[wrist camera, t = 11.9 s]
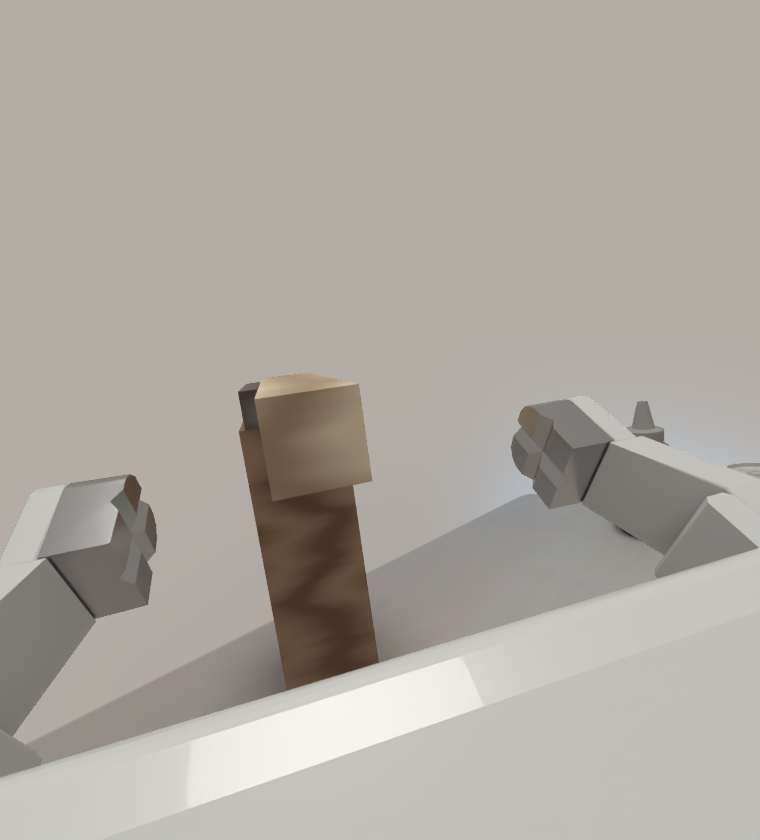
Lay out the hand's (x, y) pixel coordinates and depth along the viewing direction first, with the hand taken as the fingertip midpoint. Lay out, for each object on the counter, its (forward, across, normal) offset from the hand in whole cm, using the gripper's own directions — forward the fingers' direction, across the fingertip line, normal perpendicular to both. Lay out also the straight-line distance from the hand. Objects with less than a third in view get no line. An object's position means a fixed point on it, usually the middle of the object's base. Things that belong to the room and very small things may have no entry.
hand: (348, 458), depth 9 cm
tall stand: (+10, 0, -37) cm, 38 cm away
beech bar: (+10, 0, -8) cm, 13 cm away
